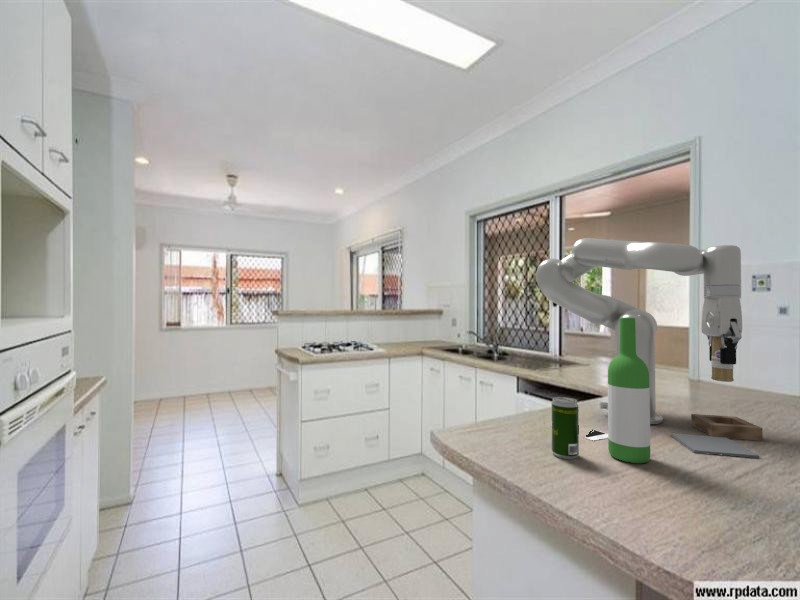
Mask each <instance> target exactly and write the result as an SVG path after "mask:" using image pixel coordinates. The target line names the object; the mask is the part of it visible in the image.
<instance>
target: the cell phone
mask: <svg viewBox="0 0 800 600" xmlns="http://www.w3.org/2000/svg"><path fill="white" fill-rule="evenodd" d="M591 429H592V431H593V429H594V428H591ZM592 431H590V432H589V434H588V435H586V437H585V438H587V439H586V440H588V439H590V440H589V441H591V440H593V441H592V442H595V441H594V440H598V441H600V440H599V439H603V440H605V439H604V438H608V432H607V433H606V432H603V431H600V430H597V429H594V432H592ZM591 432H592V433H591ZM585 438H584V439H585Z"/></svg>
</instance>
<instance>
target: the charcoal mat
mask: <svg viewBox="0 0 800 600" xmlns="http://www.w3.org/2000/svg"><path fill="white" fill-rule="evenodd" d="M669 436H670V437H672V438H673V439H675V440H676V441H677V442H679V443H680V444H681V445H683V446H684V447H685V448H687V449H688V450H689V449H690V451H691V452H692V453H694V454H701V453H709V454H708V455H713V454H722V455H721V456H725V455H733V456H732V457H736V456H741V457H740V458H748V457H750V459H751V458H752V459H760V455H758V454H757V453H755V452H753V451H752V450H750V449H748V448H747V447H745V446H743V445H741V444H739V443H737V442H736V441H734V440H732V439H731V438H726V437H713V436H710V435H697V434H683V433H670V435H669Z"/></svg>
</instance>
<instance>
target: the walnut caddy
mask: <svg viewBox="0 0 800 600" xmlns="http://www.w3.org/2000/svg"><path fill="white" fill-rule="evenodd" d="M690 415H691V416H690V417H691V426H693V427H694V428H696V429H698V430H700V432H703V433H704V434H706V433H707V434H706V435H707V436H713V437H726V438H728V439H733V438H734V439H735V440H747V441H763V440H764V439H763V436H764V434H763V428H762V427H760V426H758V425H756V424H754V423H751V422H749V421H747V420H745V419H743V418H740V417H738V416H731V415H729V416H728V415H713V414H699V413H691V414H690Z"/></svg>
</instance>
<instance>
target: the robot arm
mask: <svg viewBox="0 0 800 600" xmlns="http://www.w3.org/2000/svg"><path fill="white" fill-rule="evenodd" d="M741 261H742V253H741V248H740V247H739V246H737V245H730V244H729V245H727V244H724V245H715V246H713V245H712V246H709V247H707V248H706V249H699V248H698V247H696V246H692V245H689V244H684V243H683V244H682V243H681V244H680V243H672V242H671V243H669V242H658V241H657V242H656V241H655V242H654V241H637V240H635V241H631V240H620V239H619V240H618V239H606V238H593V237H584V238H580V239H577V241H575V242H574V243H573V245H572V247H571V253H570V254H569V255H567V256H566V257H564V258H562V259H558V258H546V259H544V260H543V261H542V262H541V263H539V265H538V266H537V270H536V275H535V276H536V283H537V286H538V288H539V290H540V291H541V293H542V294H543V295H544V296H545V298H547V300H550V301H551V302H552V303H554V304H555V305H557V306H559V307H561V308H562V309H565V310H567V311H568V312H571V313H572V314H574V315H577V316H579V317H581V318H582V319H584V320H586V321H588V322H590V323H592V324H593V325H594V324H595V325H599V326H601V325H602V326H605V328H608V329H611V330H612V331H615V332H614V334H615V342H616V356H618V355H619V353H620V318H635V331H636V355H637V356H638V357H639V358H640V359H642V360H643V361H644V363H645V364H646V366H647V368H648V370H649V387H650V425H658V424H661V423H663V417H662V416H661V415H660V414H657V410H656V408H657V407H656V355H655V354H656V352H655V351H656V349H655V334H656V333H657V331H658V323H657V320H656V319H655V316H653V315H652V314H651V313H649V312H648V311H646V310H643V309H641V308H639V307H636V306H634V305H632V304H629V303H627V302H625V301H622V300H620V299H617V298H615V297H613V296H609V295H606V294H605V295H604V294H599V293H596V292H594V291H591V290H588V289H587V288H584V287H582V286H580V285H577V284H576V283H574V282H573V281H575V280H576V279H579V278H580V277H582V276H584V275H585V274H587V273H588V272H590V271H592V270H593V269H595V268H596V267H600V268H601V267H602V268H609V269H617V270H624V271H625V270H627V271H628V270H629V271H631V270H637V269H639V270H640V269H641V270H642V269H643V270H652V271H653V270H655V271H662V272H663V271H664V272H669V273H670V272H672V273H675V274H677V275H678V276H682V277H688V276H689V277H690V276H696V275H703V299H704V301H703V305H702V311H701V333H702V334H703V335H706V337H707V340H708V346H709V348H708V349H709V351H708V352H709V361H710V362H712V336H721V343H722V348H720V363H721V364H733V365H736V364H737V349H738V343H739V341H740V340H741V339H742V338H743V336H742V333H743V312H742V305H741V299H742V262H741ZM725 334H731V336H725ZM711 335H712V336H711ZM726 339H728V340H727V342H726ZM599 409H601V410H607V411H608V401H606V402H603V401H602V402H601V401H600V402H599Z"/></svg>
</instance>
